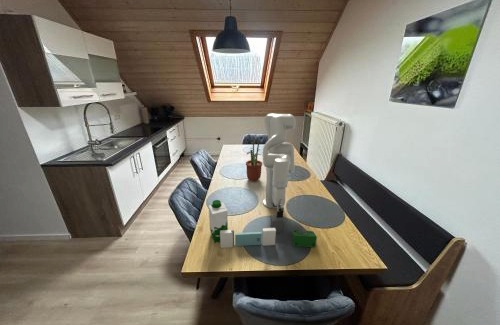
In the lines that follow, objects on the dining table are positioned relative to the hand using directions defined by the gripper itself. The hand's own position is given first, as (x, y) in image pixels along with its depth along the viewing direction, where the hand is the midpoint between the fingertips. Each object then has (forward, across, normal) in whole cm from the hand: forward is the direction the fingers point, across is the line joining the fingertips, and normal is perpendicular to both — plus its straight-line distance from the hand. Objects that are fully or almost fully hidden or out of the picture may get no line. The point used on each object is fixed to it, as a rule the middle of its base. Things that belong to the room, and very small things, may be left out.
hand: (277, 211), depth 111 cm
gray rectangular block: (+12, -1, 0) cm, 13 cm away
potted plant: (+11, -60, -4) cm, 61 cm away
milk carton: (+13, +2, -31) cm, 34 cm away
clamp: (+13, +9, +12) cm, 20 cm away
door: (+12, +10, -16) cm, 23 cm away
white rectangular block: (+13, +9, -16) cm, 23 cm away
